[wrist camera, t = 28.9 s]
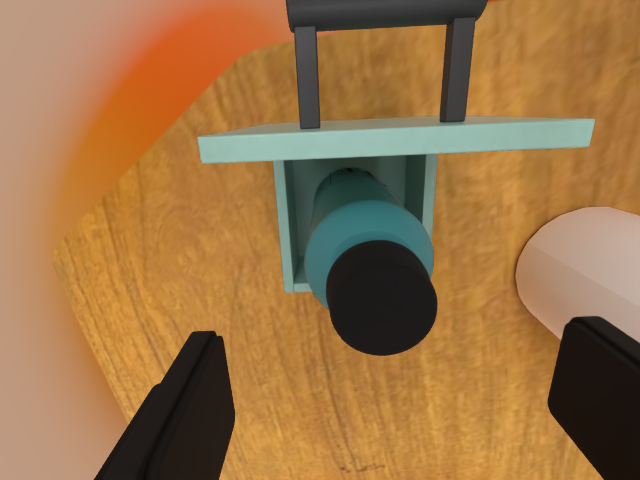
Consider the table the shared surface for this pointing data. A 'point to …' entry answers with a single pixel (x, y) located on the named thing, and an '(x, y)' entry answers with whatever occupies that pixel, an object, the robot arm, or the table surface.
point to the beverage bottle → (370, 264)
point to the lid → (389, 133)
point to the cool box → (304, 175)
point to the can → (583, 269)
